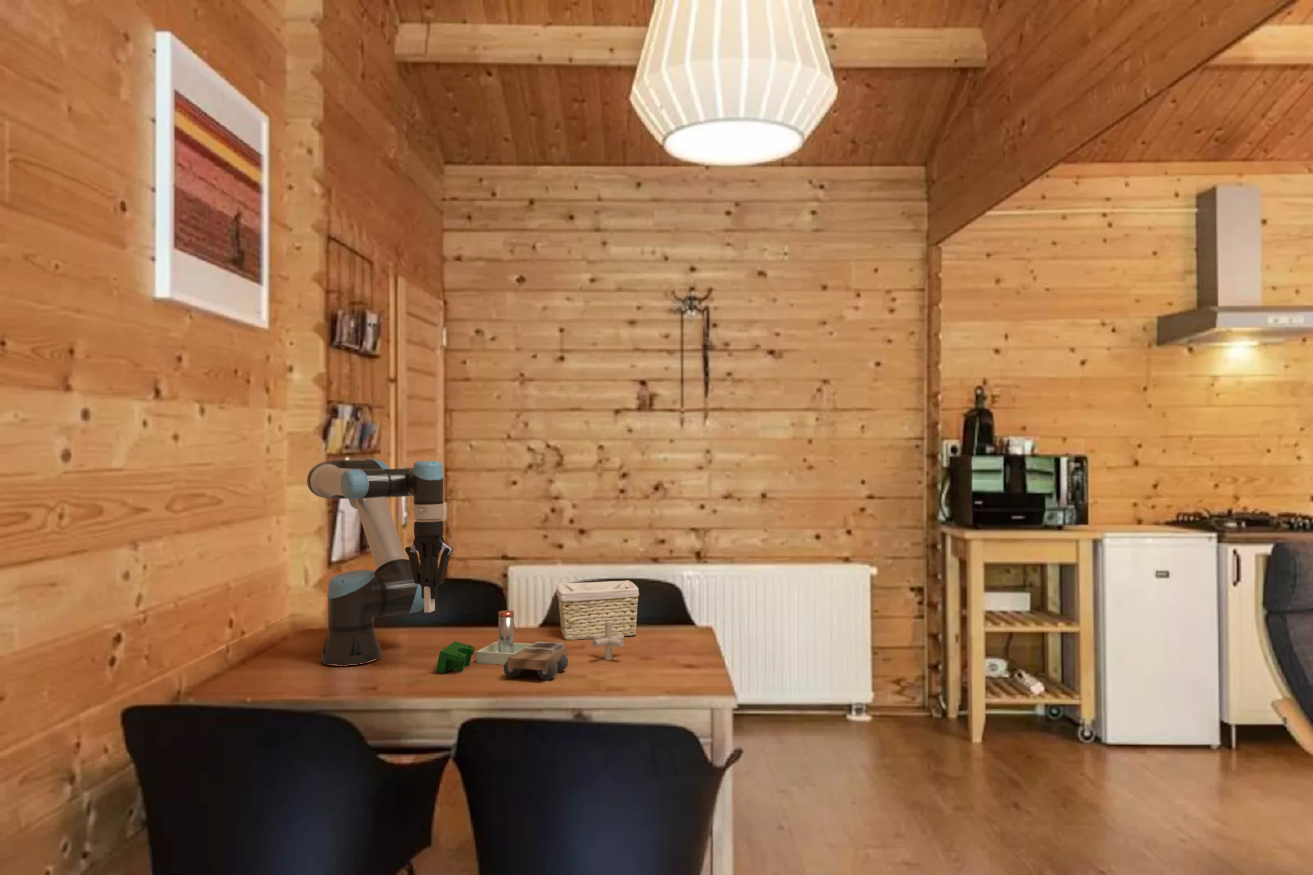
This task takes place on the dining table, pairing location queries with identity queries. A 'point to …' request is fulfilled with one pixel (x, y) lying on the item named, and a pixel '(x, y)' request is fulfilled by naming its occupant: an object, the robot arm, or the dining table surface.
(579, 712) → the dining table surface
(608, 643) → the pipe connector
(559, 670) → the trolley
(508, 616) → the pin
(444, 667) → the clamp
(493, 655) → the tray
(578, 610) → the storage basket
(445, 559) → the robot arm
